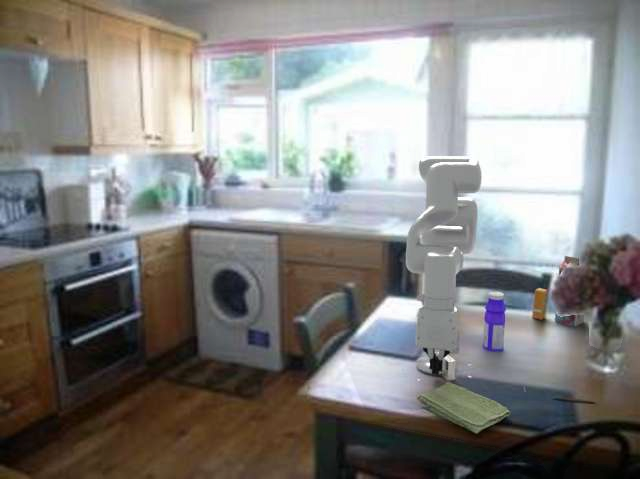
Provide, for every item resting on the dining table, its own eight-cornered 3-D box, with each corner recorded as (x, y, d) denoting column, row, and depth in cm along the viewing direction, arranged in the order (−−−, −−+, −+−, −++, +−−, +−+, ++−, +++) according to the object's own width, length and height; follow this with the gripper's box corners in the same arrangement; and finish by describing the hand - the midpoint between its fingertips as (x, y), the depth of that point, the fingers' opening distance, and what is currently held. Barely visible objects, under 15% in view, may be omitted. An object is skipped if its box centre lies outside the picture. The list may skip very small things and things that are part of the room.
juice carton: (574, 326, 174) (581, 260, 170) (554, 321, 179) (560, 257, 175) (583, 322, 178) (590, 257, 174) (563, 317, 183) (569, 254, 179)
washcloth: (478, 439, 111) (479, 425, 110) (413, 406, 125) (413, 393, 124) (513, 418, 119) (514, 405, 119) (448, 389, 133) (448, 377, 132)
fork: (597, 407, 124) (598, 399, 123) (523, 398, 128) (524, 391, 127) (594, 402, 126) (595, 394, 126) (522, 393, 130) (523, 386, 130)
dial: (409, 361, 144) (410, 344, 144) (443, 357, 147) (443, 340, 146) (433, 382, 132) (433, 363, 131) (468, 377, 135) (469, 358, 134)
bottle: (504, 357, 151) (508, 297, 147) (483, 355, 152) (487, 296, 148) (501, 347, 158) (505, 290, 154) (481, 345, 159) (484, 289, 155)
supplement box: (542, 320, 180) (544, 291, 178) (531, 317, 182) (534, 289, 180) (545, 317, 183) (548, 289, 181) (535, 315, 185) (537, 287, 183)
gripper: (405, 303, 130) (403, 374, 133) (468, 310, 124) (464, 383, 128) (411, 294, 137) (409, 362, 140) (471, 301, 131) (468, 371, 135)
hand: (435, 372), depth 134 cm, fingers closed
